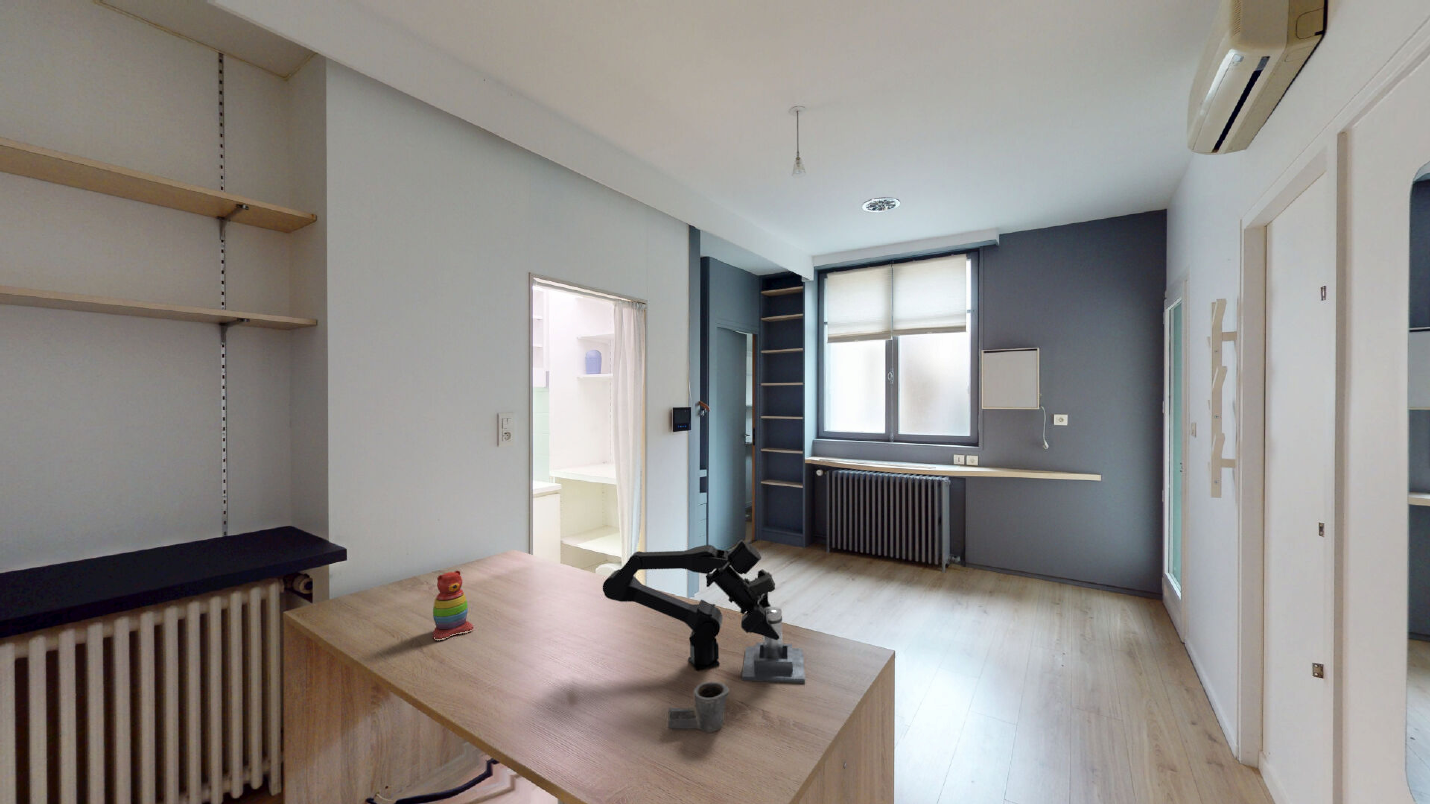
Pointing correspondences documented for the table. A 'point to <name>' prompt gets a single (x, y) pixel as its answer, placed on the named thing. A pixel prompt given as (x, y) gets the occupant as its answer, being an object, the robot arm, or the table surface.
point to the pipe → (702, 709)
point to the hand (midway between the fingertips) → (778, 630)
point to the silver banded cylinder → (775, 647)
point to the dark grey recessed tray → (774, 665)
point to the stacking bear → (450, 606)
